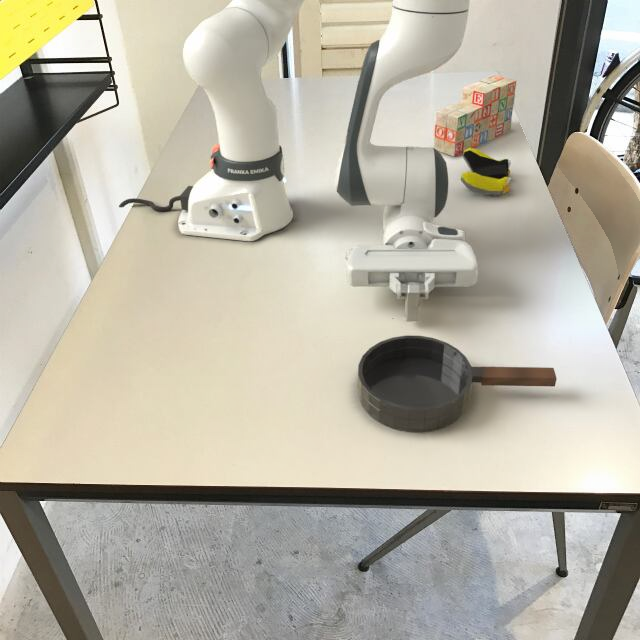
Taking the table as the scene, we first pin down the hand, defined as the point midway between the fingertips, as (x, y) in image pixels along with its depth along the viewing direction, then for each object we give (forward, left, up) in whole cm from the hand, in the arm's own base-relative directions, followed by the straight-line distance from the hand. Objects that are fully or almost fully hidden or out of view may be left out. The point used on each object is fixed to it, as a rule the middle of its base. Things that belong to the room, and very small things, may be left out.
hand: (413, 295), depth 103 cm
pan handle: (+13, -14, -4) cm, 19 cm away
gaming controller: (+17, +50, -7) cm, 53 cm away
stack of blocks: (+17, +74, -7) cm, 76 cm away
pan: (0, -14, -6) cm, 16 cm away
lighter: (0, +1, -5) cm, 5 cm away
